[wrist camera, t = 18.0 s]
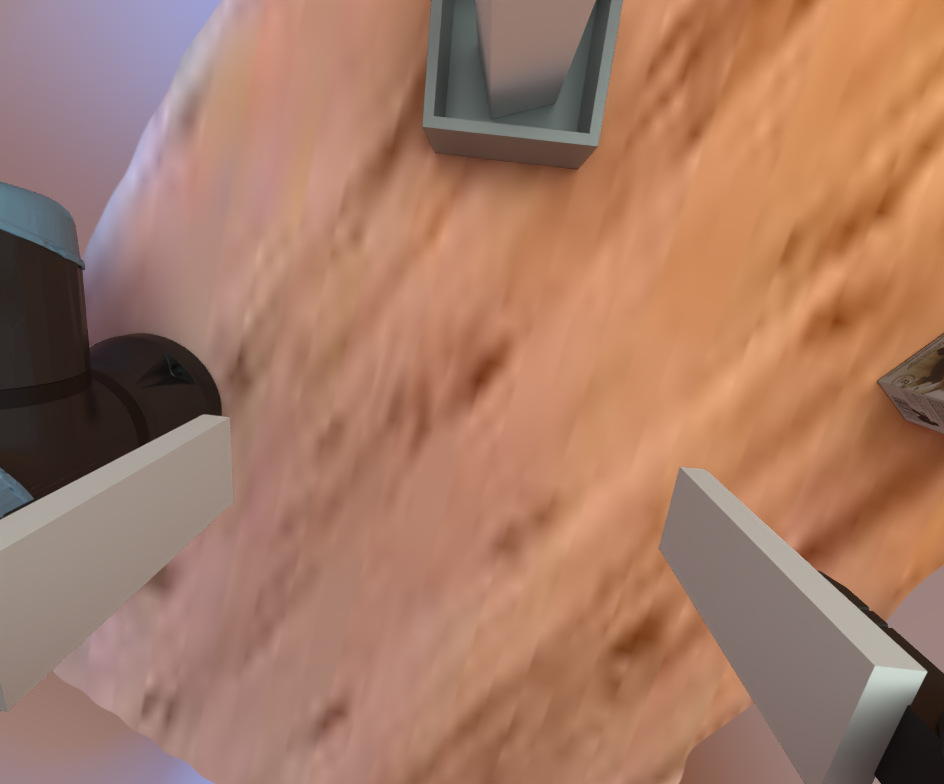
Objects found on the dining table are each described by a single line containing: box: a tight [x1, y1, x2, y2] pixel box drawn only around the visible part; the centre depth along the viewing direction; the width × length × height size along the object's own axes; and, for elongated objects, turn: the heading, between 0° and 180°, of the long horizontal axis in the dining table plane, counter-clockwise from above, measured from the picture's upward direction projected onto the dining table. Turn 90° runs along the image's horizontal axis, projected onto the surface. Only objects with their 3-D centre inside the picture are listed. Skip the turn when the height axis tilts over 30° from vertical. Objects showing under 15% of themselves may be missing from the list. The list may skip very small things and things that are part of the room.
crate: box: [422, 0, 623, 169], centre depth 36 cm, size 14×14×8 cm
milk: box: [475, 0, 596, 119], centre depth 28 cm, size 6×6×22 cm
